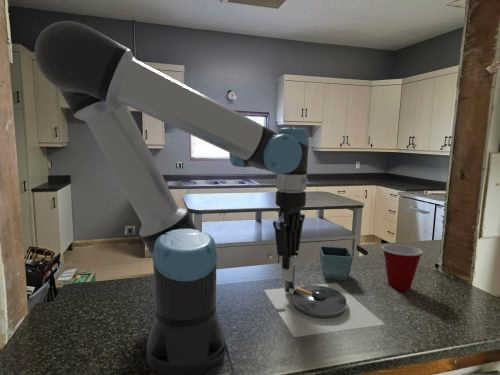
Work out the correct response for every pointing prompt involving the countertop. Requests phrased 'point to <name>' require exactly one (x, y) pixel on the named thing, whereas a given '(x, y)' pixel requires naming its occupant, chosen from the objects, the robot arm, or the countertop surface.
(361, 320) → the panel
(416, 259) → the plastic cup
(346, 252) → the flower pot
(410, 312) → the countertop surface
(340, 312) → the dial
